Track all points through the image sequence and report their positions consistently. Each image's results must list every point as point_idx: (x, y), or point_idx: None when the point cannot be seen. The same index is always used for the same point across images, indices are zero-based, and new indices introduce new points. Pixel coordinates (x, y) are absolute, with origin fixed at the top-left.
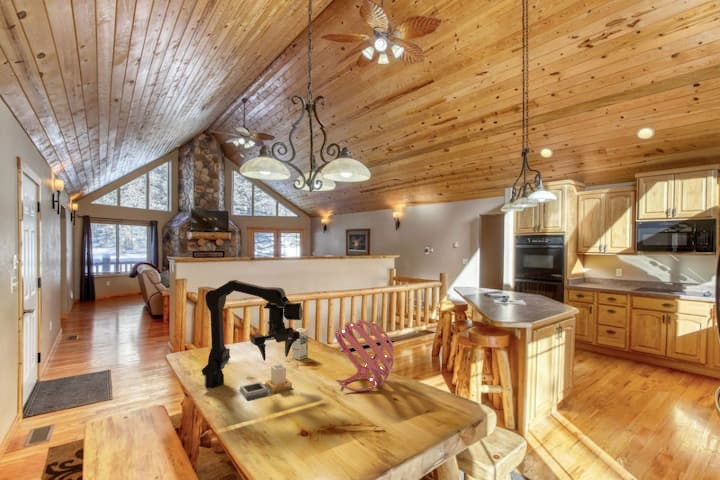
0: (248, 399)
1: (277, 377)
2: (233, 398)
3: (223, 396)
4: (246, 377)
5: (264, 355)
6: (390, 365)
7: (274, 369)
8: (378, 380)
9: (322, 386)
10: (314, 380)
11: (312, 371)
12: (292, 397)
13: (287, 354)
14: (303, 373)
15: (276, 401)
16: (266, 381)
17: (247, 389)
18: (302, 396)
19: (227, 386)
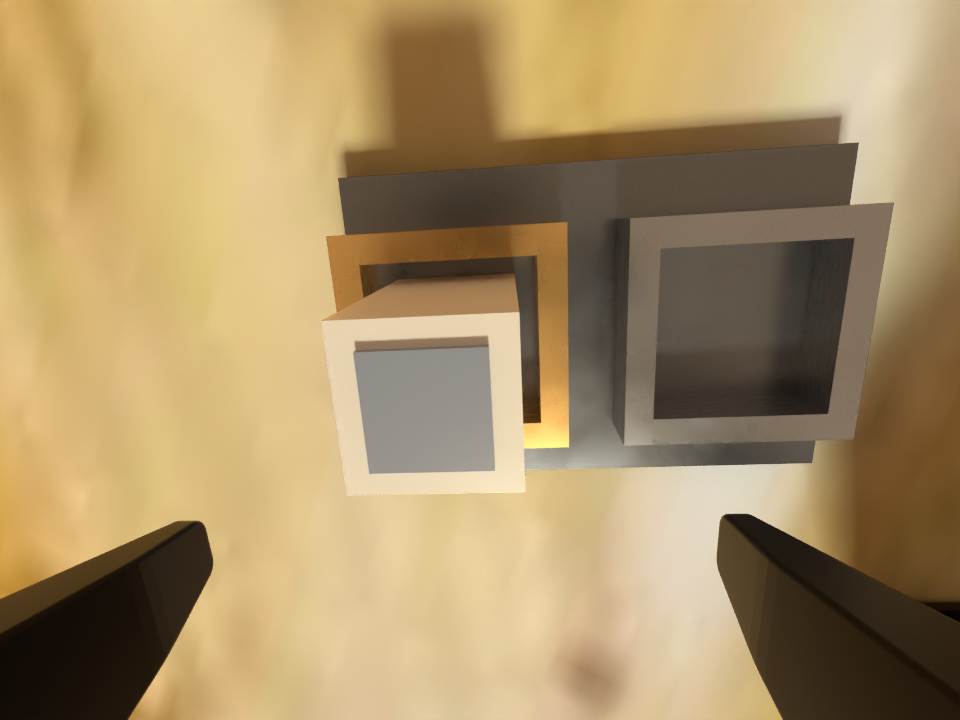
0: (834, 183)
1: (484, 292)
2: (890, 351)
3: (941, 440)
4: (617, 703)
5: (850, 586)
6: None
7: (520, 349)
8: None
9: (45, 167)
10: (93, 353)
11: (71, 551)
12: (396, 57)
13: (140, 542)
14: None
15: (573, 47)
16: (565, 424)
17: (761, 401)
18: (295, 23)
19: None
